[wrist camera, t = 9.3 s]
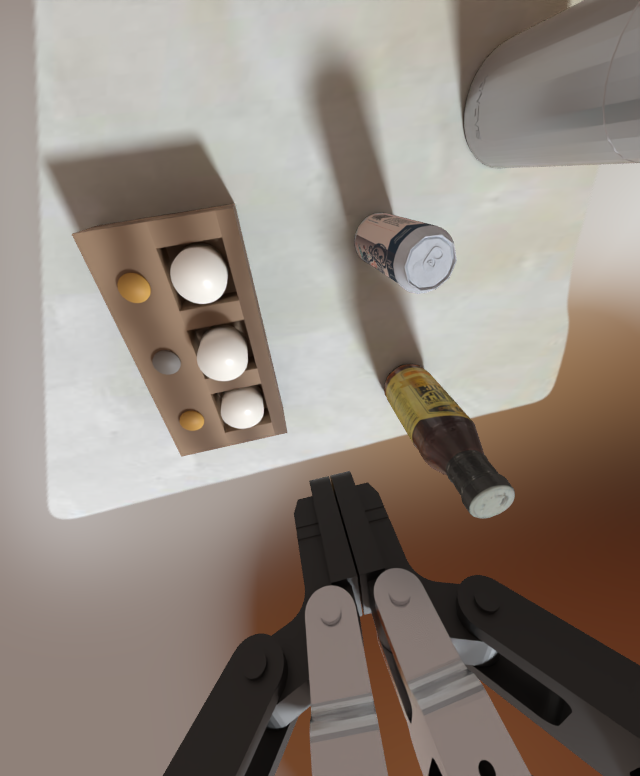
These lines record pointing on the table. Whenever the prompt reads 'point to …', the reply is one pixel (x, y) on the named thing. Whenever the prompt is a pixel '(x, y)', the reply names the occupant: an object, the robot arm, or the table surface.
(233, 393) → the button
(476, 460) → the sauce bottle
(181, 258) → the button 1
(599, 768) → the robot arm
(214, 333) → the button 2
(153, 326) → the button board
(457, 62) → the table surface
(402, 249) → the beer can
